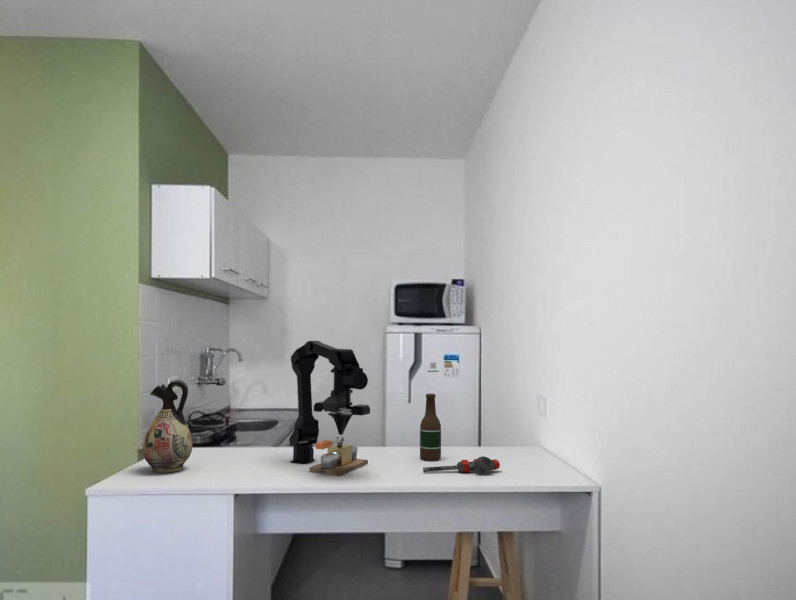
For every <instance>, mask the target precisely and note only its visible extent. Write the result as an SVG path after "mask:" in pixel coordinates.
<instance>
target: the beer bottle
mask: <svg viewBox="0 0 796 600" xmlns="http://www.w3.org/2000/svg"><path fill="white" fill-rule="evenodd" d="M436 397H437V395H436V394H435V393H427V394H425V398H426V399H425V401H426V402H425V410H424V411H425V413H424V416H423V418H422V420H421V421H420V425H419V459H420V460H421V461H424V462H439V461H440V460H441V459H442V428H441V427H442V424H441V422H440V421H441V420H440V419H439V417H438V416H437V412H436V411H437V410H436V409H437V408H436Z"/></svg>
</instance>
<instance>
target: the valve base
mask: <svg viewBox="0 0 796 600" xmlns="http://www.w3.org/2000/svg"><path fill="white" fill-rule="evenodd" d="M357 454H358V447H357V446H356V444H344V442H339V443H336V444H333V445H332V447H329V448H327V453H324V454H322V455H321V456H320V463H318V464H314V465H312V466H309V473H315V474H324V475H332V476H343V475H346V474H349V473H351V472H354V471H355V469H356V470H357V468H358V469H359V467H360V468H363V467H365V466H367V465H369V459H364V458H363V459H362V458H357V456H358V455H357ZM366 464H367V465H366ZM364 465H365V466H364ZM362 466H363V467H362Z"/></svg>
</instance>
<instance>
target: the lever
mask: <svg viewBox="0 0 796 600" xmlns="http://www.w3.org/2000/svg"><path fill="white" fill-rule="evenodd" d="M339 442H343V443H344V442H345V437H343V436H342V437H341V436H336V437H335V438H332V439H329V440H328V439H327V440H326V439H325V440H321V441H319V442H318V441H317V443H316V444H315V449H316V450H326V449H328V448H329V447H332V446H333V445H336V444H337V443H339Z"/></svg>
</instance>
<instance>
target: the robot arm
mask: <svg viewBox="0 0 796 600" xmlns="http://www.w3.org/2000/svg"><path fill="white" fill-rule="evenodd" d="M319 357H323V358H325V359H327V360H328V362H329V364H331V365H332V366H333V368H331V370H330V373H333V389H332V390H331V391H330V396H328V397H327V398H325V399H324V400H323V401H317V402H315V403H314V404H313V398H312V397H313V396H312V378H311V377H312V376H311V375H312V373H313V371H314V369H315V367H316V361H318V359H319ZM290 362H291V369H292V371H293V372H294V374H295V375H296V382H297V383H296V385H297V405H298V406H297V407H298V408H297V409H298V415H297V416H298V417H297V418H296V421H295V422H294V425H293V426H294V427H293V428H294V430H293V432H292V433H291V435H290V436H289V438H288V442H289V445H290V446H293V450H292V451H293V452H292V453H293V454H292V455H293V456H292V458H293V459H291V460H290V463H295V464H296V463H297V464H305V465H306V464H308V463H311V462H314V461H316V459H315V458H314V451H315V450H314V449H315V448H313V447H314V446H313V445H316V443H318V437H319V434H320V433H319V432H320V428H319V423H320V422H319V420H318V419H316V418H315V416H314V415H313V412H317V413H321V412H323V411H324V412H326V413H327V415H328V416H330V417H331V418H332V419H333V420H334V423H335V426H336V429H337V432H338V435H341V436H342V435H344V433H345V431H346V428H347V426H348V424H349V423H350V422H349V421H350V420H351V418H352V417H353V416H365V415H370V414H371V407H370V406H369V404H361V403H360V404H355V405H353V401H351V399H352V398H351V394H353V393H354V391H353V389H354V390H360V391H361V390H364V389H365V388H366V387H367V385H368V381H369V379H368V376H367V374H366V372H364V368H363V367H360V364H359V361H358V360H357V357H356V354H355V353H354V351H353V349H350V348H337V347H334V346H332V345H329V344H326V343H323V342H321V341H320V340H308V341H306V343H304V345H302V346H299V347H298V348H296V349H295V351H294V352H293V353H292V354H291V356H290ZM328 412H329V413H328Z"/></svg>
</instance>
